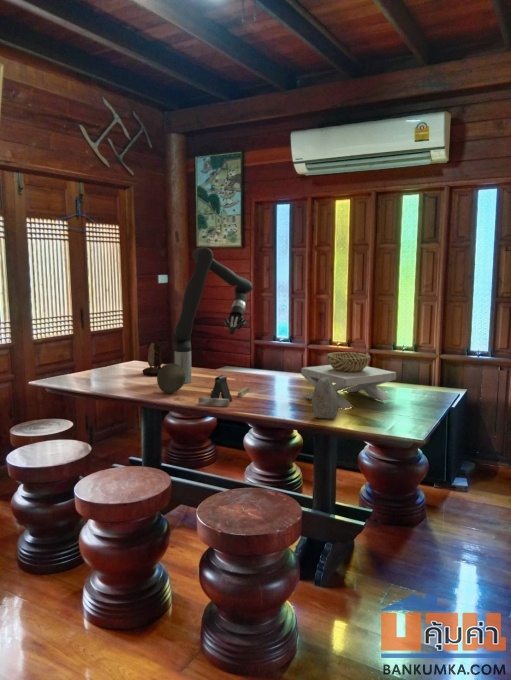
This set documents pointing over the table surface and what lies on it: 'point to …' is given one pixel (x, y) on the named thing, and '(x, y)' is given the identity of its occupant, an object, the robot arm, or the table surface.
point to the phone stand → (221, 388)
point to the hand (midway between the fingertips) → (231, 333)
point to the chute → (220, 401)
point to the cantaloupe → (171, 378)
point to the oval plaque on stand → (153, 358)
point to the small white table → (350, 376)
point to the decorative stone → (324, 399)
